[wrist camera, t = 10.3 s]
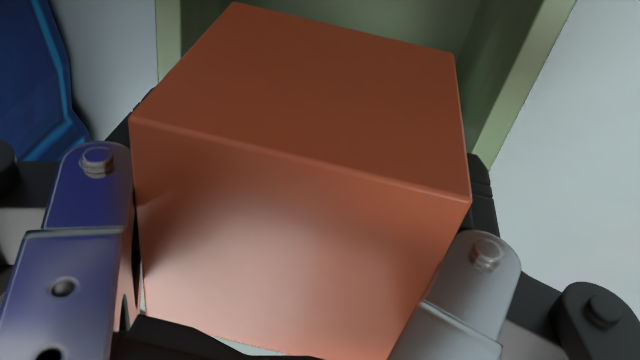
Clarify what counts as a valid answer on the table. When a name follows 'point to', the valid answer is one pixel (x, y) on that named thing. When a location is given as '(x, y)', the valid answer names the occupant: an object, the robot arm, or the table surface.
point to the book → (35, 84)
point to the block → (298, 184)
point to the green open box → (421, 29)
